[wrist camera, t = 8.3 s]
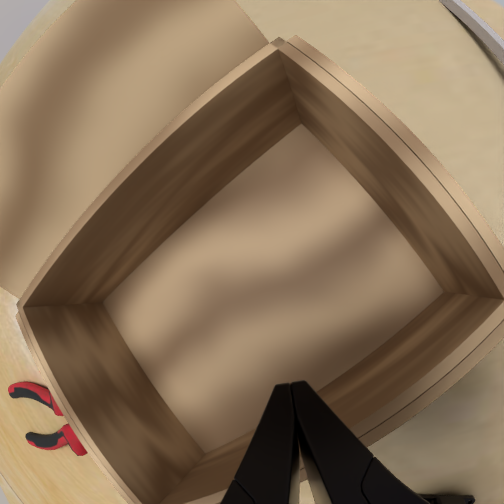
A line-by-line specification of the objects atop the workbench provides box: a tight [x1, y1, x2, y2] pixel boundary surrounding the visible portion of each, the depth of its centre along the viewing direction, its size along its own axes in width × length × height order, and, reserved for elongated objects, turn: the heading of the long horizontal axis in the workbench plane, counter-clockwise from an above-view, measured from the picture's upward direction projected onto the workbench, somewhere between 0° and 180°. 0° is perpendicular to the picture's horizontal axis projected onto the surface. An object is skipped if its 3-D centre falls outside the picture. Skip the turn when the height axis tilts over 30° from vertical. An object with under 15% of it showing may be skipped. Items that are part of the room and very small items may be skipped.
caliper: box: [439, 0, 504, 64], centre depth 15 cm, size 20×1×6 cm, turn 16°
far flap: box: [0, 0, 269, 299], centre depth 12 cm, size 8×21×1 cm
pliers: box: [8, 382, 88, 456], centre depth 25 cm, size 3×9×22 cm
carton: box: [16, 35, 504, 504], centre depth 17 cm, size 17×23×9 cm
